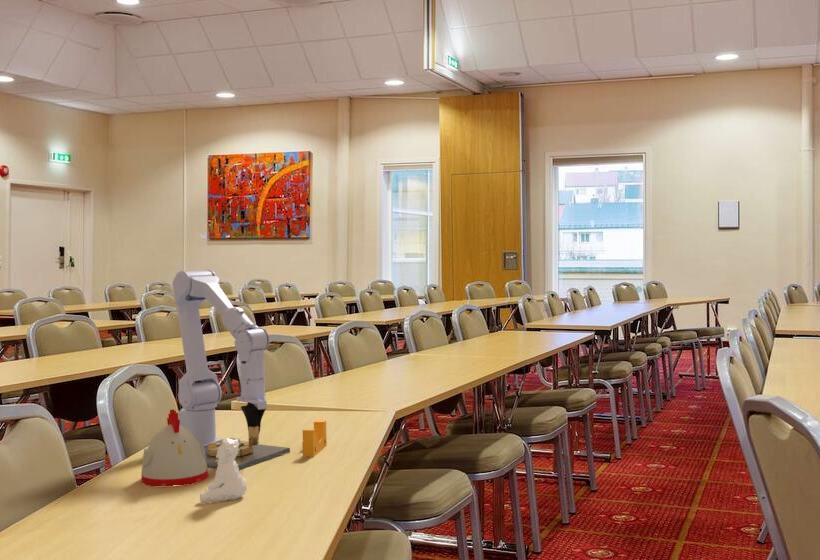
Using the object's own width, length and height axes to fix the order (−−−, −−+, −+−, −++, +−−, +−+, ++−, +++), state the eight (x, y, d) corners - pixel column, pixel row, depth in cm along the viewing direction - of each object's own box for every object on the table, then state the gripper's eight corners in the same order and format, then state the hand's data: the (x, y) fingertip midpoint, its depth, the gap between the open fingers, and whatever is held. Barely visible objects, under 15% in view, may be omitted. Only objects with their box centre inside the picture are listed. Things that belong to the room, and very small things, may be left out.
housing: (169, 461, 214) (168, 444, 214) (225, 444, 231) (225, 428, 231) (236, 470, 204) (236, 452, 204) (289, 451, 222) (289, 435, 222)
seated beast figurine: (210, 491, 188) (208, 433, 187) (251, 490, 187) (250, 432, 187) (198, 504, 178) (196, 443, 178) (242, 504, 178) (240, 442, 177)
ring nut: (198, 454, 216) (198, 429, 216) (228, 445, 225) (228, 421, 225) (233, 458, 211) (232, 433, 210) (262, 449, 220) (261, 425, 219)
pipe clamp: (309, 445, 229) (309, 420, 229) (326, 446, 228) (326, 420, 228) (296, 457, 217) (295, 430, 217) (313, 457, 217) (313, 430, 216)
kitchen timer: (148, 490, 189) (146, 418, 189) (135, 476, 201) (133, 408, 201) (215, 481, 196) (213, 411, 195) (198, 468, 208) (196, 402, 207)
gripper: (228, 376, 225) (229, 431, 225) (245, 383, 212) (246, 442, 212) (256, 373, 228) (257, 428, 228) (274, 381, 215) (276, 438, 215)
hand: (254, 434), depth 221 cm, fingers closed, pressing on ring nut
